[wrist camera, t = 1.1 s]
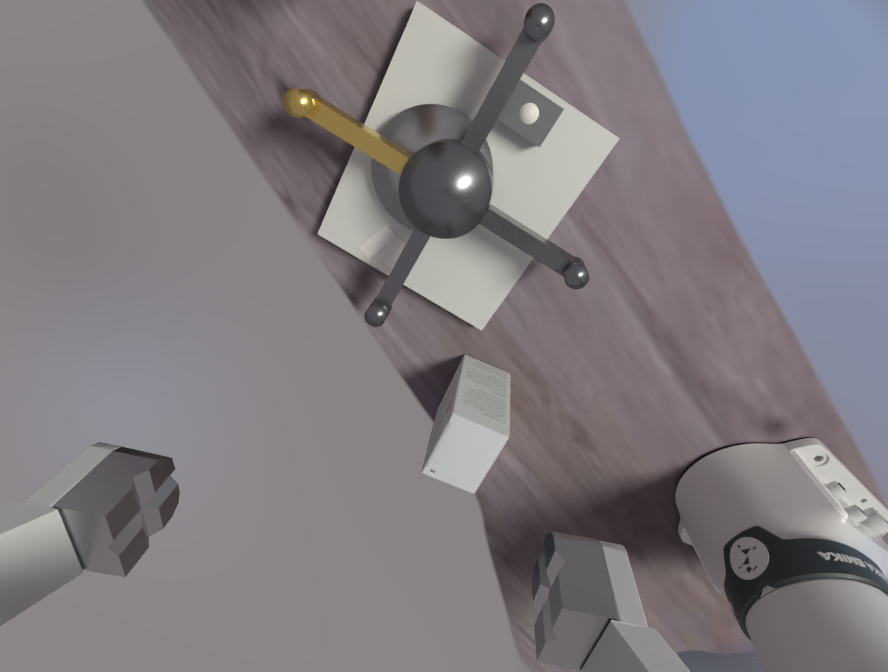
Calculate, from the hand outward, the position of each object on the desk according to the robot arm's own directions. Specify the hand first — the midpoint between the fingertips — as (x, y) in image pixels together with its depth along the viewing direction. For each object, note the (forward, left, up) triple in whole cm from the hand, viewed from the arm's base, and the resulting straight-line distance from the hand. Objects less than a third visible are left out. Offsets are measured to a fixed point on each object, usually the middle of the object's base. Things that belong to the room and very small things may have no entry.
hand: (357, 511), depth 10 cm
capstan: (+3, 0, -32) cm, 32 cm away
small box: (-10, +18, -35) cm, 40 cm away
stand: (+2, 0, -34) cm, 34 cm away
